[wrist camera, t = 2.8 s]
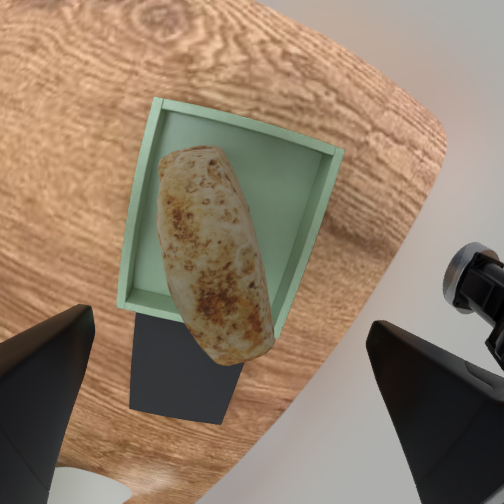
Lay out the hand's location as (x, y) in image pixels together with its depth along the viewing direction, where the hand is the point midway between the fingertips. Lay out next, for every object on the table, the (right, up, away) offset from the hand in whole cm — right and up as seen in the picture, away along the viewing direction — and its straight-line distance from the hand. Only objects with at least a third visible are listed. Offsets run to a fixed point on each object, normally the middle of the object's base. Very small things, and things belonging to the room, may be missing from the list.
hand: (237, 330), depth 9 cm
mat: (-5, -8, +15) cm, 18 cm away
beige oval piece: (-2, +4, +11) cm, 12 cm away
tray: (-2, +4, +11) cm, 12 cm away
